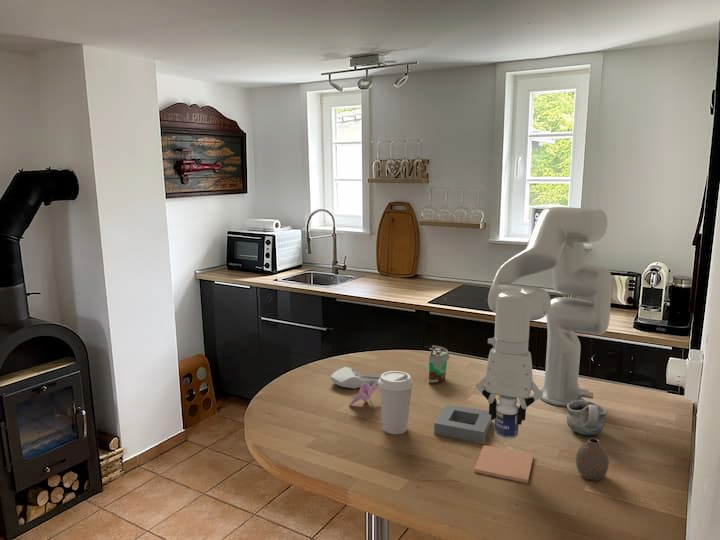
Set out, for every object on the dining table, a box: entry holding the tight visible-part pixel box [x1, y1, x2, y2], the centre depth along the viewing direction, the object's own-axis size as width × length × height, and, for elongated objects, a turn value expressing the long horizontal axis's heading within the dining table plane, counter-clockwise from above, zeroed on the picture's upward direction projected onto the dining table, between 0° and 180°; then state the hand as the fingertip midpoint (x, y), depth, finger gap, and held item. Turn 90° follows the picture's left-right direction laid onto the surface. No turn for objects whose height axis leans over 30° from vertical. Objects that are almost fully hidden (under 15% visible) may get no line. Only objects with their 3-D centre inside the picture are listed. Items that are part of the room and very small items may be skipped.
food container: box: [428, 344, 450, 386], centre depth 181 cm, size 12×6×10 cm, turn 168°
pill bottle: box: [493, 395, 519, 441], centre depth 127 cm, size 5×5×10 cm
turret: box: [330, 366, 382, 389], centre depth 178 cm, size 10×20×5 cm, turn 105°
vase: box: [575, 437, 610, 481], centre depth 124 cm, size 7×7×9 cm
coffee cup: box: [377, 370, 415, 435], centre depth 146 cm, size 10×10×15 cm
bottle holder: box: [433, 403, 493, 444], centre depth 148 cm, size 13×13×3 cm
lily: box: [348, 381, 380, 412], centre depth 160 cm, size 11×11×9 cm
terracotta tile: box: [473, 444, 534, 484], centre depth 130 cm, size 12×12×1 cm
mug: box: [566, 399, 607, 436], centre depth 144 cm, size 10×12×10 cm
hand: (506, 419), depth 127 cm, fingers closed on pill bottle, 5 cm apart
